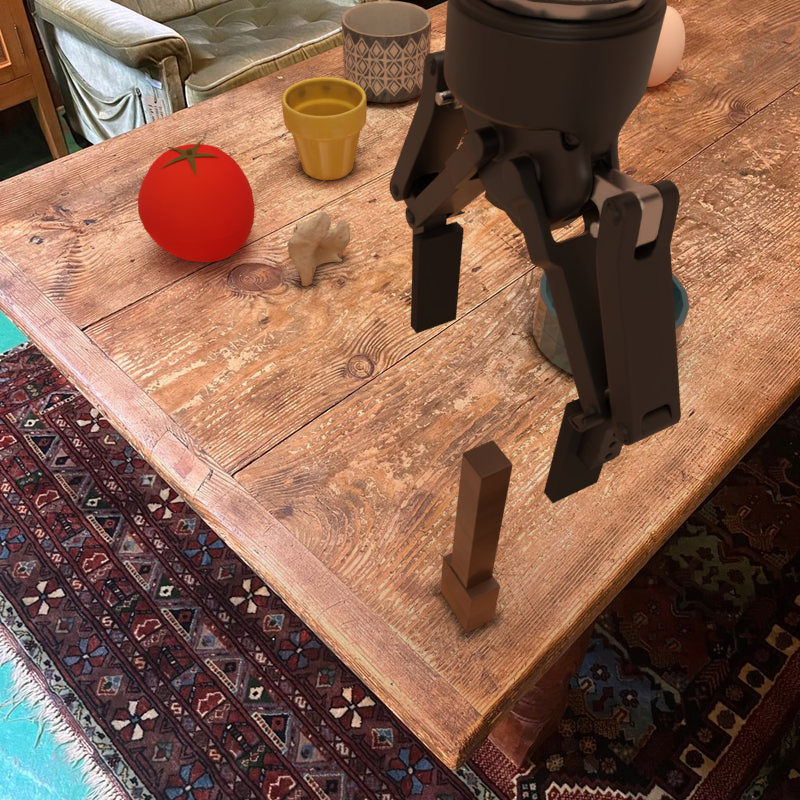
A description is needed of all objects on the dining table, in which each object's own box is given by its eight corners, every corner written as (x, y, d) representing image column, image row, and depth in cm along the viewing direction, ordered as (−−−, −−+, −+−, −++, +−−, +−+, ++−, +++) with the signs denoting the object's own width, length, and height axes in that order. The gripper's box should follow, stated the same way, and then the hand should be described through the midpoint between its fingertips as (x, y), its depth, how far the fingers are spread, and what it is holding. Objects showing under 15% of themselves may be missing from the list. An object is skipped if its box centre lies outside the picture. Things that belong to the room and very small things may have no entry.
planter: (446, 91, 116) (450, 19, 108) (383, 118, 110) (382, 44, 102) (390, 63, 122) (389, -7, 114) (327, 88, 116) (323, 16, 109)
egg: (630, 98, 115) (649, 18, 106) (613, 74, 120) (630, -4, 112) (681, 95, 115) (704, 16, 107) (662, 72, 121) (682, -6, 112)
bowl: (702, 358, 77) (721, 312, 73) (588, 407, 73) (601, 361, 68) (612, 279, 86) (623, 234, 81) (505, 318, 81) (511, 273, 77)
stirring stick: (493, 619, 58) (523, 474, 45) (466, 633, 57) (488, 490, 44) (466, 577, 60) (486, 428, 47) (439, 590, 60) (452, 442, 46)
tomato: (248, 213, 94) (232, 115, 85) (271, 269, 86) (257, 168, 77) (145, 233, 91) (117, 134, 82) (160, 293, 83) (131, 191, 74)
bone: (318, 219, 90) (340, 173, 81) (352, 262, 90) (379, 220, 81) (261, 254, 87) (278, 210, 78) (297, 299, 87) (318, 260, 78)
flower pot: (369, 188, 98) (367, 115, 91) (287, 190, 97) (279, 116, 90) (367, 146, 105) (365, 75, 98) (290, 148, 104) (283, 76, 97)
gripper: (310, -107, 32) (336, 287, 48) (747, 184, 18) (579, 614, 33) (462, -129, 35) (440, 253, 51) (959, 111, 20) (709, 544, 36)
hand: (495, 397), depth 42 cm, fingers open, 13 cm apart
